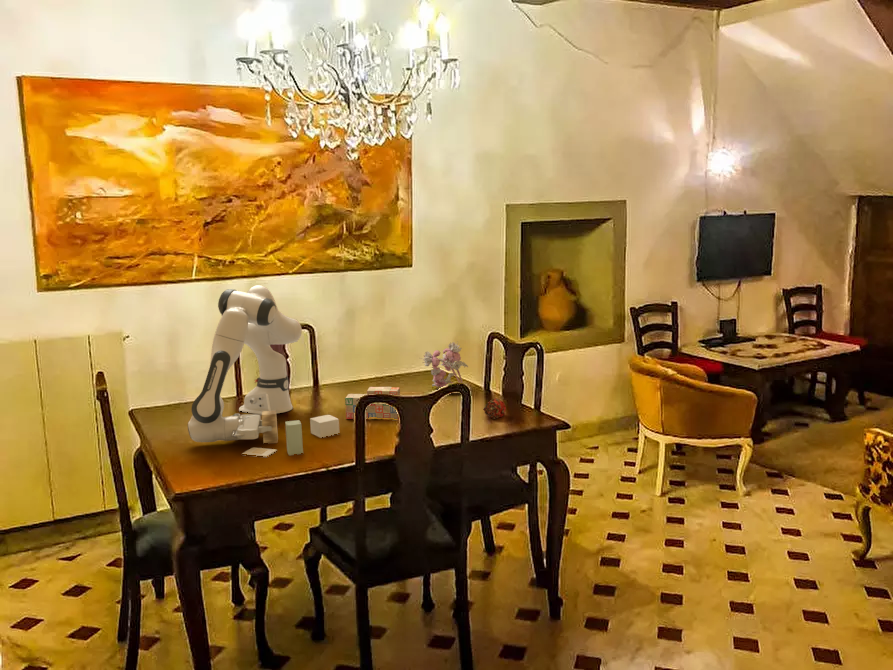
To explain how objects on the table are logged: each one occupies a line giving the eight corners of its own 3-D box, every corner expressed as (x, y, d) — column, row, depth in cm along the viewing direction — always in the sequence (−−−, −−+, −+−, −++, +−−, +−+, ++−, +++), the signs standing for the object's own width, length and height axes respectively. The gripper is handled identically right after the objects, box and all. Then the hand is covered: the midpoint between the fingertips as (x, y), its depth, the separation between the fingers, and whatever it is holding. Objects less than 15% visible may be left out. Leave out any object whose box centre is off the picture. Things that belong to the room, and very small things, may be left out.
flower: (479, 381, 394) (454, 333, 392) (483, 388, 371) (456, 337, 369) (441, 401, 394) (415, 353, 392) (441, 410, 372) (414, 359, 370)
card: (242, 455, 305) (242, 452, 304) (252, 448, 311) (252, 446, 311) (266, 457, 301) (266, 455, 301) (277, 451, 308) (276, 449, 308)
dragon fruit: (494, 426, 335) (492, 421, 347) (512, 413, 335) (509, 409, 347) (481, 409, 335) (479, 405, 347) (498, 395, 335) (496, 392, 347)
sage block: (287, 451, 307) (285, 421, 305) (301, 449, 309) (299, 420, 307) (288, 455, 303) (287, 425, 301) (303, 453, 304) (301, 423, 302)
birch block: (263, 443, 317) (261, 415, 315) (264, 439, 321) (262, 411, 319) (277, 442, 317) (275, 414, 315) (277, 438, 322) (276, 410, 320)
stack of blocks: (345, 420, 344) (344, 390, 342) (349, 415, 350) (347, 386, 348) (398, 420, 342) (397, 390, 339) (401, 416, 348) (399, 386, 345)
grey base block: (320, 438, 322) (319, 423, 321) (311, 433, 328) (310, 418, 327) (339, 434, 326) (338, 418, 325) (329, 429, 333) (328, 414, 331)
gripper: (230, 428, 306) (270, 425, 308) (235, 412, 326) (272, 409, 328) (232, 445, 307) (271, 442, 309) (237, 428, 327) (273, 425, 329)
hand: (272, 425), depth 318 cm, fingers closed on birch block, 5 cm apart
